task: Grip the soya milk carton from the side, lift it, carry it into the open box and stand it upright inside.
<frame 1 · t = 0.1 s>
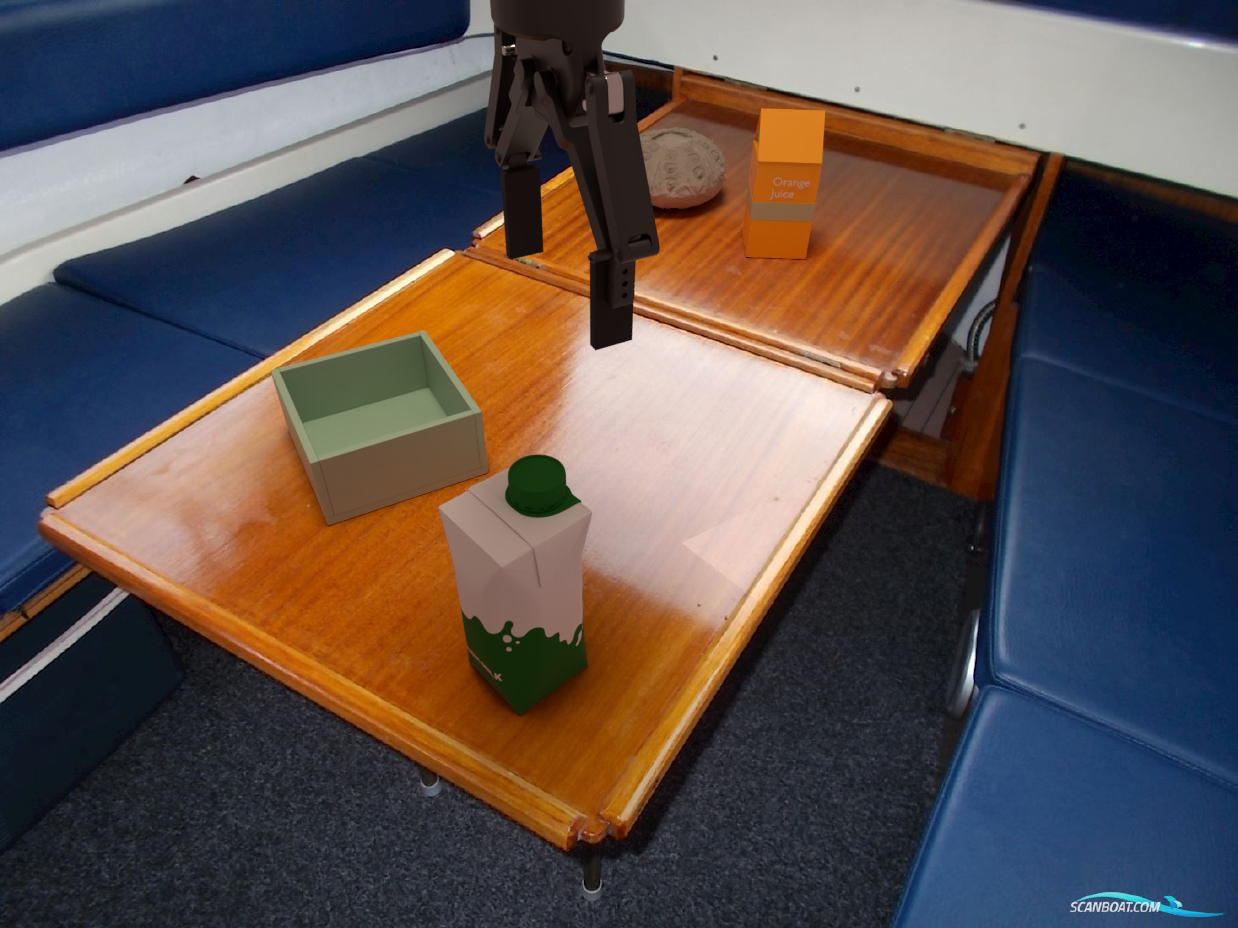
hand: (564, 295, 60), 29 cm above the table, tool pointing down, fingers open, 13 cm apart
orange juice: (773, 248, 128), on the table
soya milk: (527, 666, 71), on the table
open box: (386, 451, 91), on the table
decorative shell: (667, 198, 141), on the table
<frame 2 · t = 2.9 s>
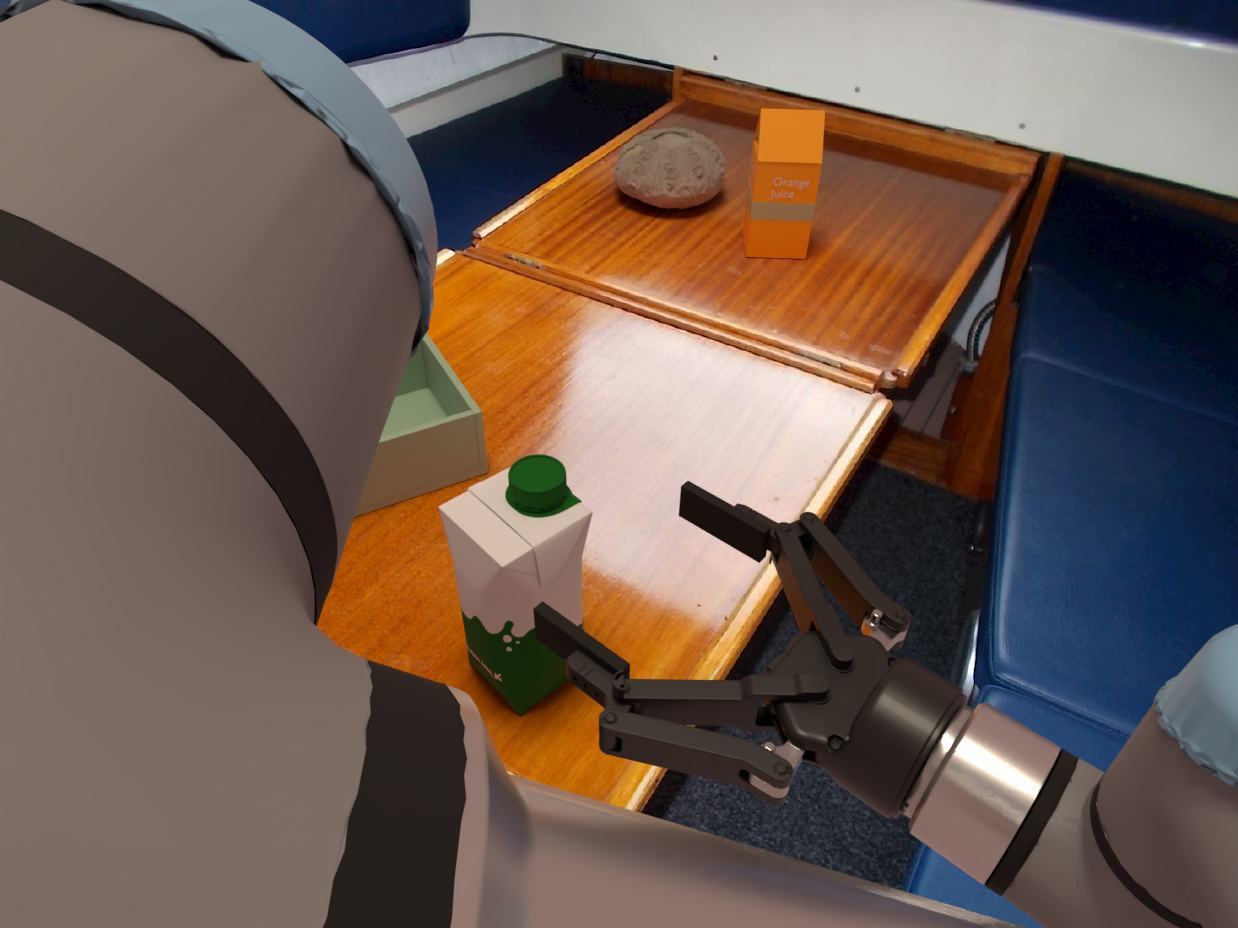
hand: (615, 554, 53), 20 cm above the table, tool horizontal, fingers open, 13 cm apart
nothing on the table moved.
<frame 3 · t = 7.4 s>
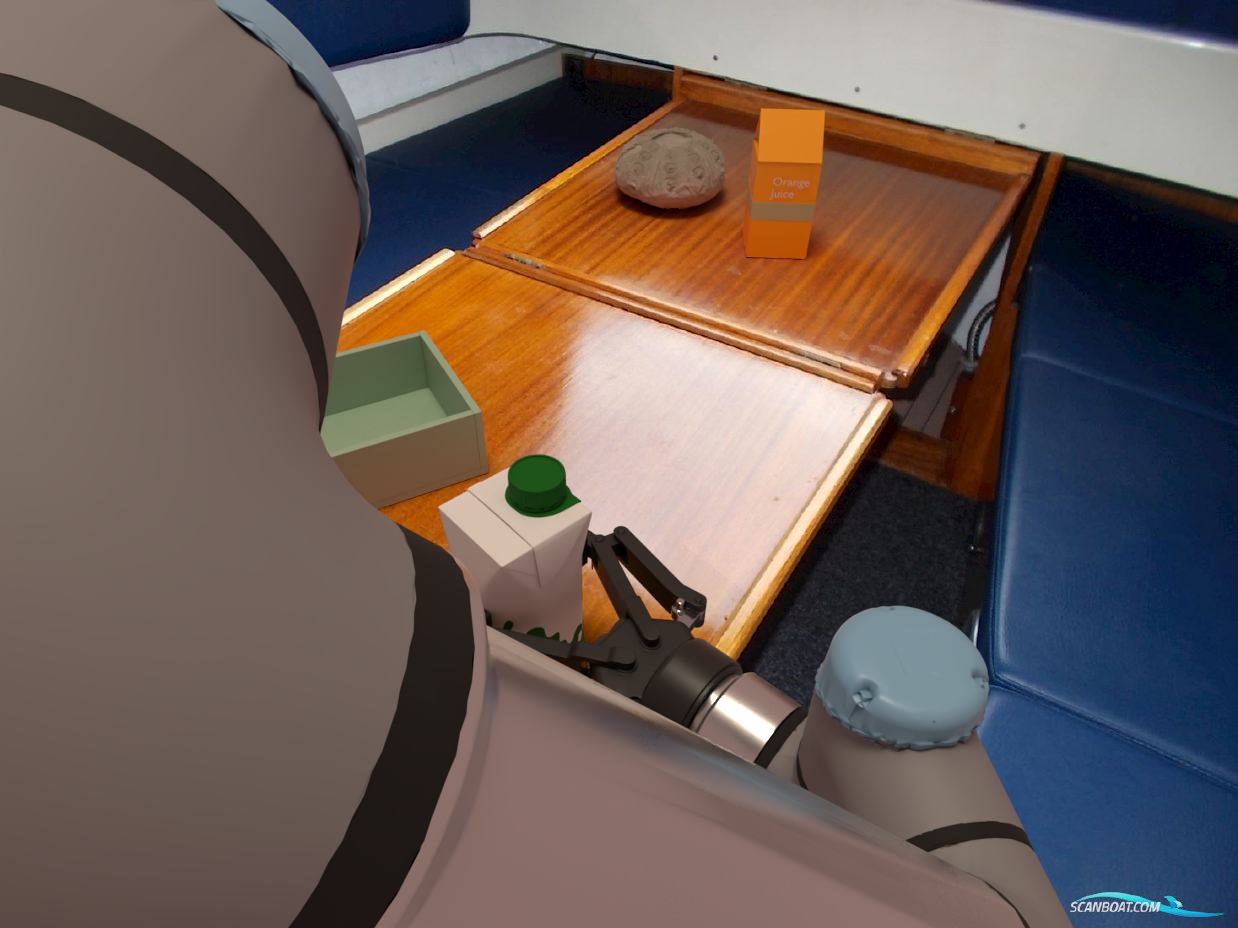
hand: (479, 546, 66), 11 cm above the table, tool horizontal, fingers closed on soya milk, 9 cm apart
soya milk: (527, 665, 71), on the table, touching gripper
everything else where it was.
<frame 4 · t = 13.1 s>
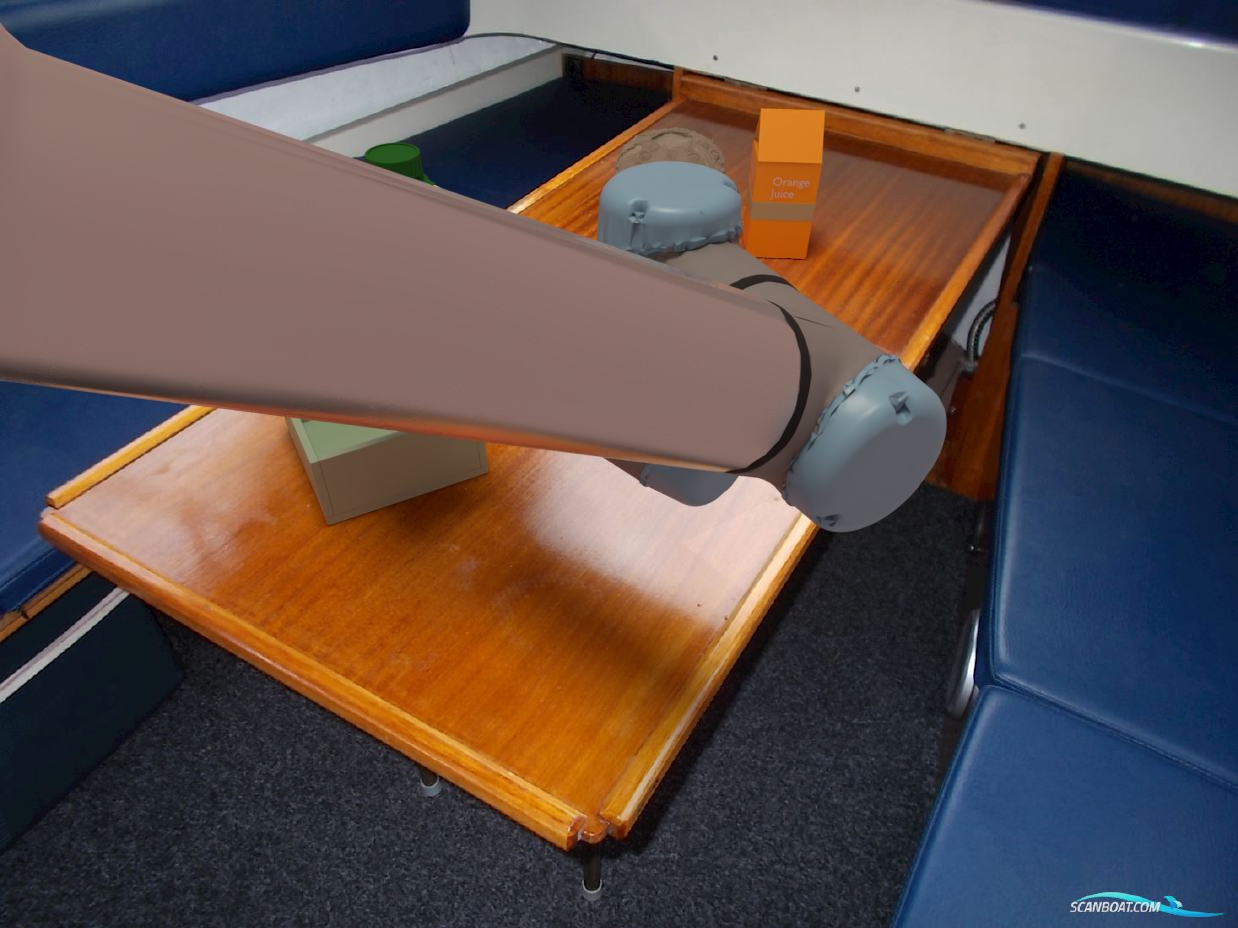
hand: (352, 254, 70), 26 cm above the table, tool horizontal, fingers closed on soya milk, 9 cm apart
soya milk: (407, 388, 75), point 15 cm above the table, touching gripper
everything else where it was.
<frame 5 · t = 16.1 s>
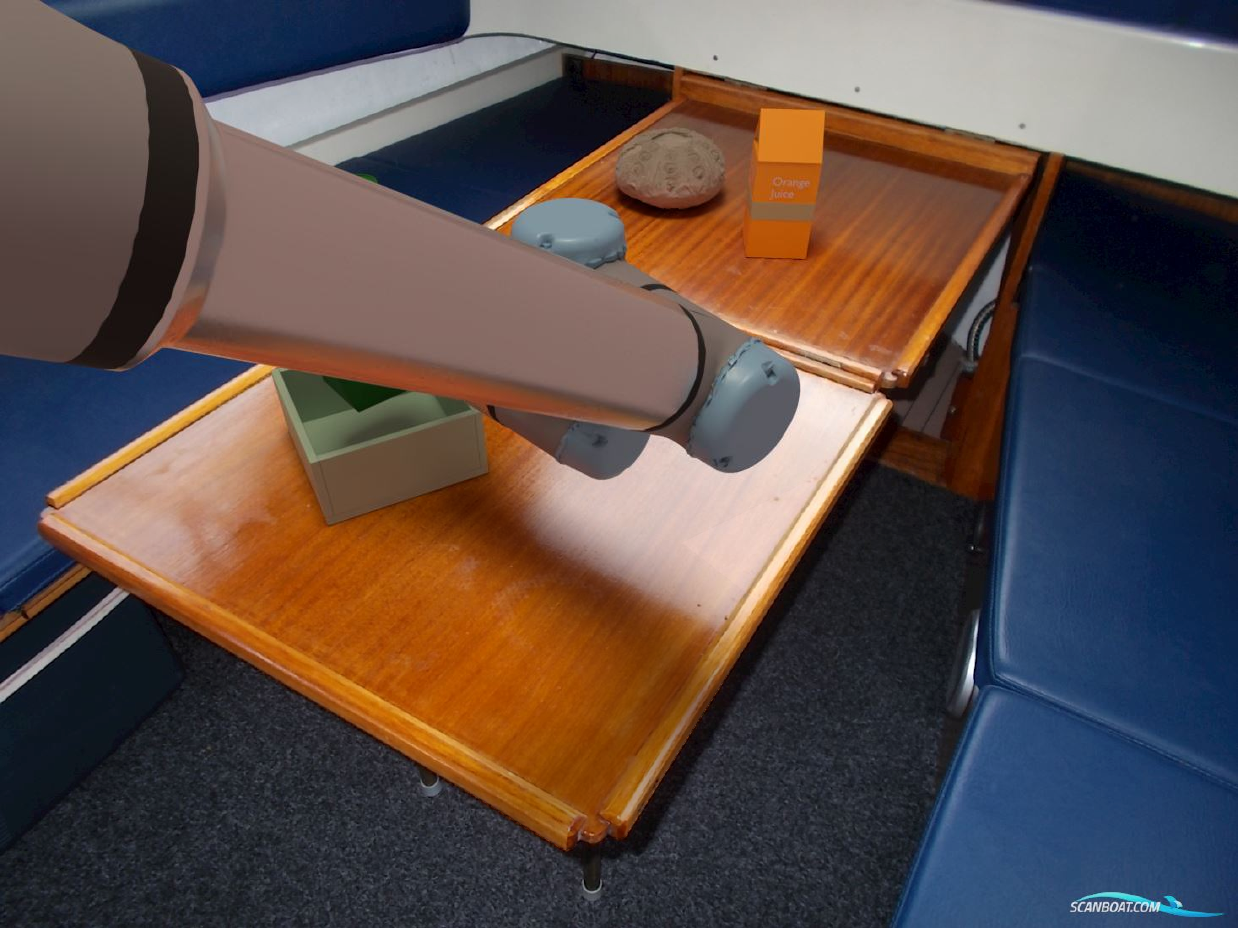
hand: (322, 268, 81), 20 cm above the table, tool horizontal, fingers closed on soya milk, 9 cm apart
soya milk: (372, 384, 86), point 9 cm above the table, touching gripper
everything else where it was.
when the fingers open (12 cm above the table, at t = 18.7 s): soya milk stays where it is, resting on open box.
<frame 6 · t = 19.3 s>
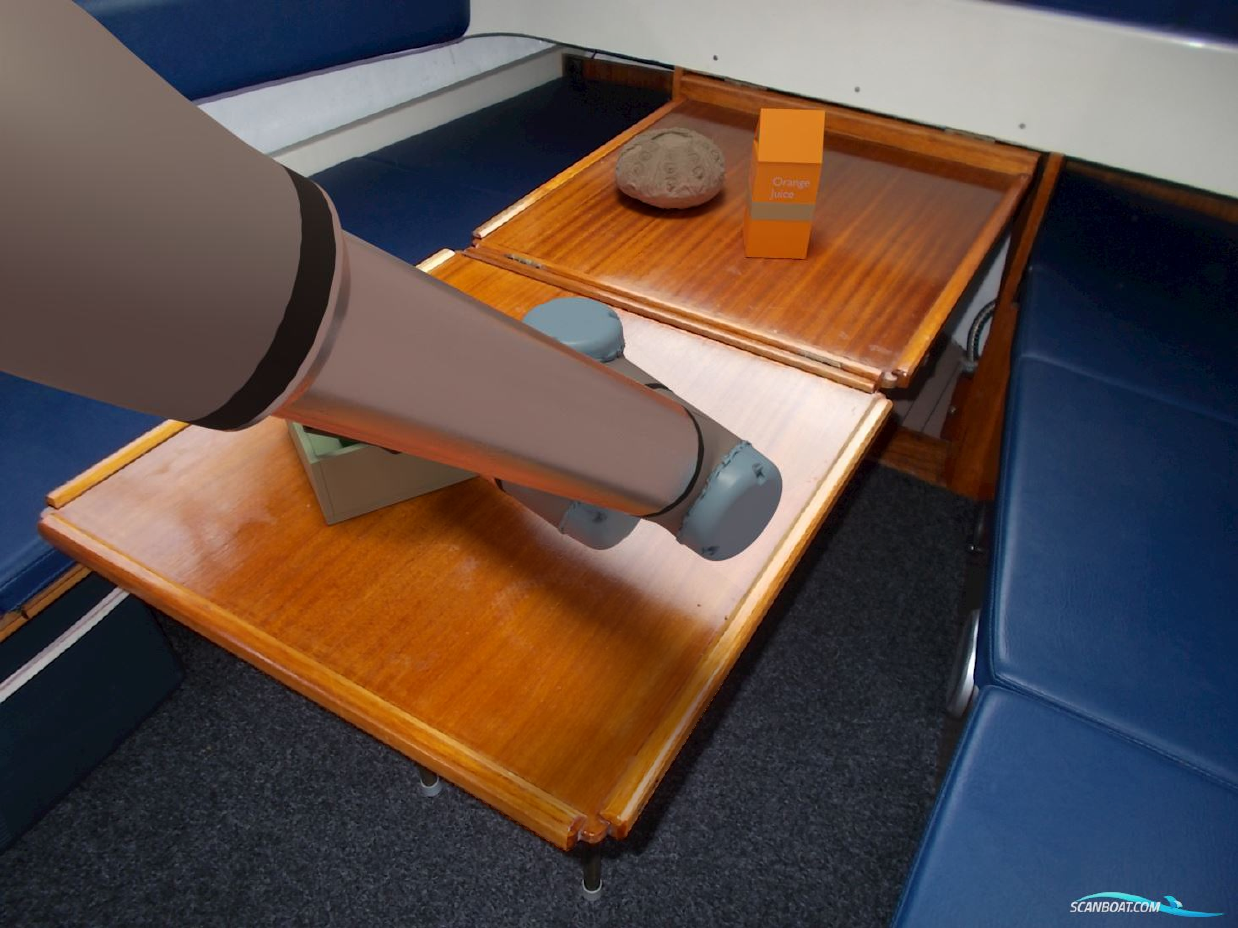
hand: (344, 340, 85), 12 cm above the table, tool horizontal, fingers open, 13 cm apart
soya milk: (385, 445, 91), point 1 cm above the table, touching open box
everything else where it was.
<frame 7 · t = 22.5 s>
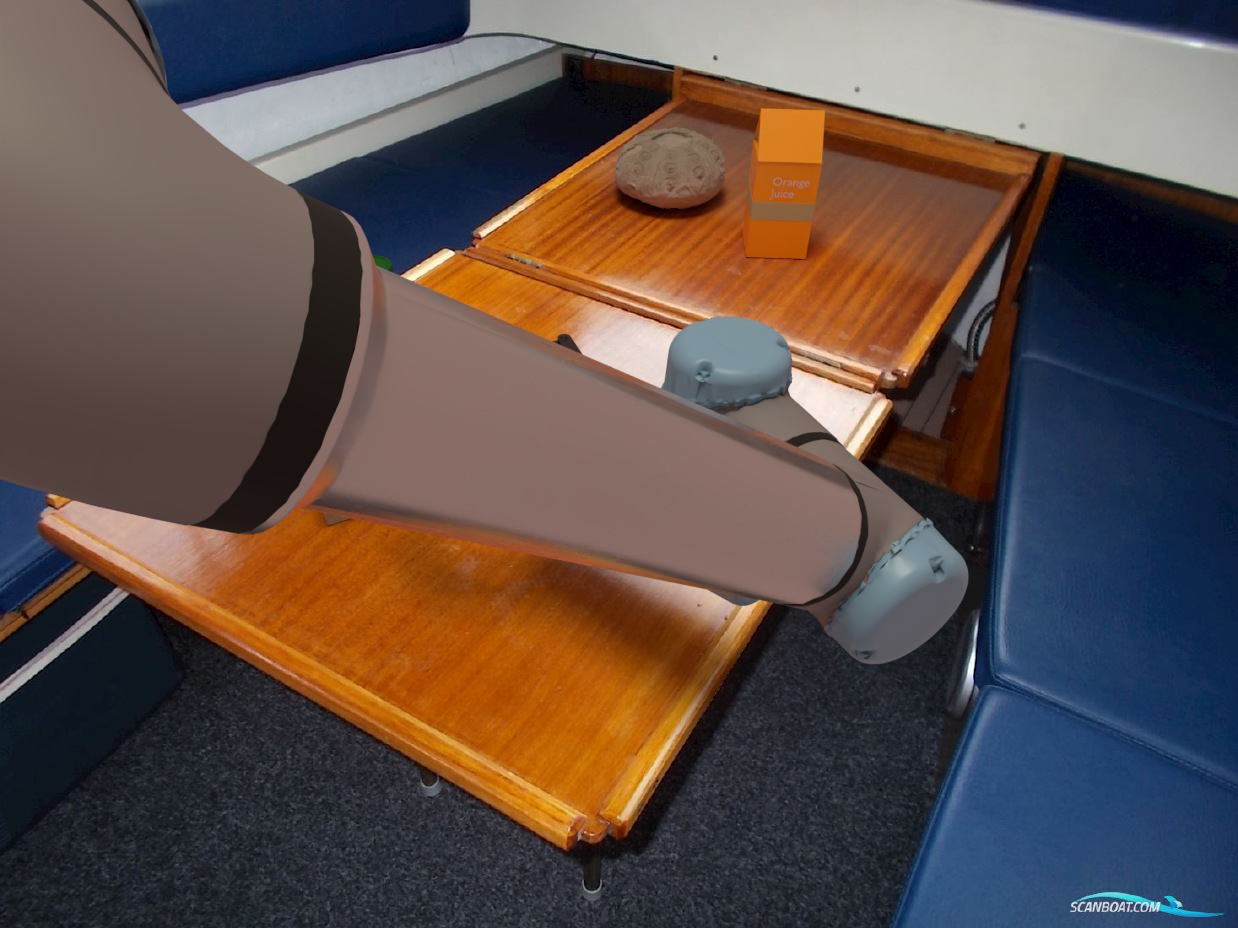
hand: (424, 359, 76), 16 cm above the table, tool horizontal, fingers open, 13 cm apart
nothing on the table moved.
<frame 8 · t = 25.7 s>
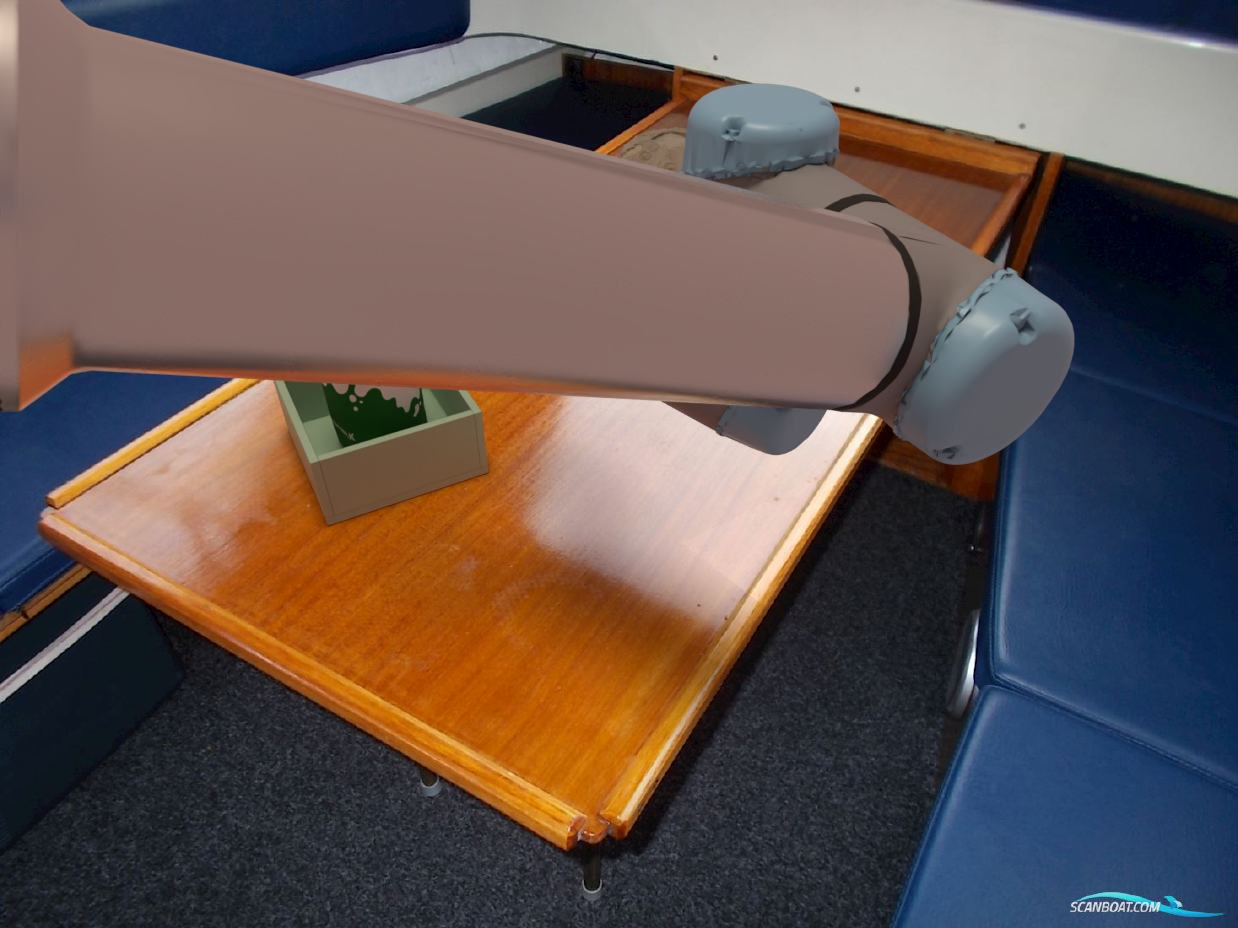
hand: (405, 213, 67), 30 cm above the table, tool horizontal, fingers open, 13 cm apart
nothing on the table moved.
at the end: soya milk inside the target area in the open box (0.0 cm from its centre), point 0.8 cm above the open box's base; soya milk tilted 0°; the gripper is holding nothing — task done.
